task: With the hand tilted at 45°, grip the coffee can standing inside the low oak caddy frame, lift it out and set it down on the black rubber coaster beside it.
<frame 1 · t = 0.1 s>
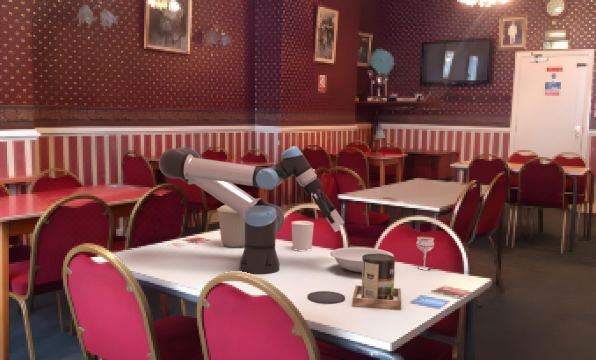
hand: (340, 227, 225), 15 cm above the table, tool tilted 35°, fingers open, 13 cm apart
coffee can: (377, 301, 181), resting in oak caddy
wineglass: (424, 269, 226), on the table
soup bowl: (361, 271, 220), on the table
canister: (236, 245, 261), on the table
candle holder: (302, 249, 256), on the table
black coaster: (326, 298, 183), on the table
oak caddy: (377, 300, 181), on the table
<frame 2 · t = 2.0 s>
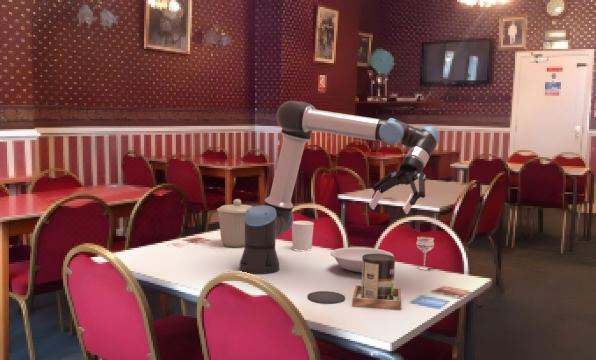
hand: (387, 209, 192), 27 cm above the table, tool tilted 45°, fingers open, 13 cm apart
nothing on the table moved.
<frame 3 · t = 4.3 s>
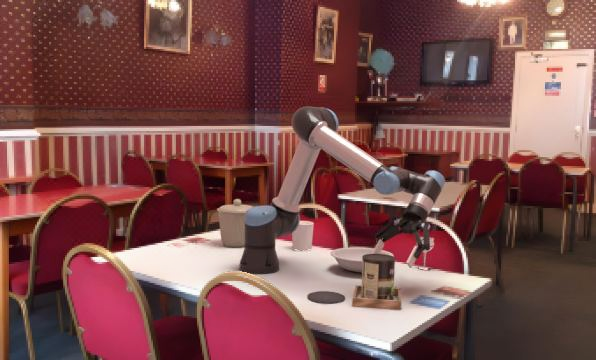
hand: (390, 261, 183), 12 cm above the table, tool tilted 45°, fingers open, 13 cm apart
nothing on the table moved.
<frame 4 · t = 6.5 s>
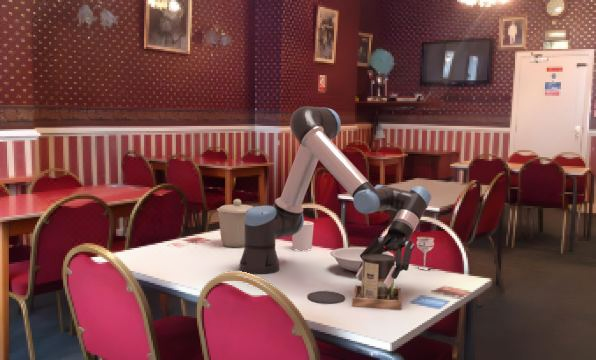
hand: (372, 282, 179), 7 cm above the table, tool tilted 45°, fingers closed on coffee can, 10 cm apart
coffee can: (376, 301, 181), resting in oak caddy, touching gripper
everything else where it was.
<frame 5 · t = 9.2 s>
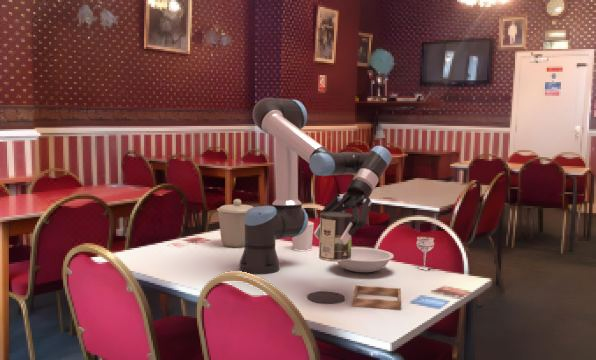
hand: (329, 239, 179), 19 cm above the table, tool tilted 45°, fingers closed on coffee can, 10 cm apart
coffee can: (334, 258, 182), point 13 cm above the table, touching gripper
everything else where it was.
when the fingers open (8 cm above the table, at t = 12.1 s): coffee can drops 1 cm, resting on black coaster.
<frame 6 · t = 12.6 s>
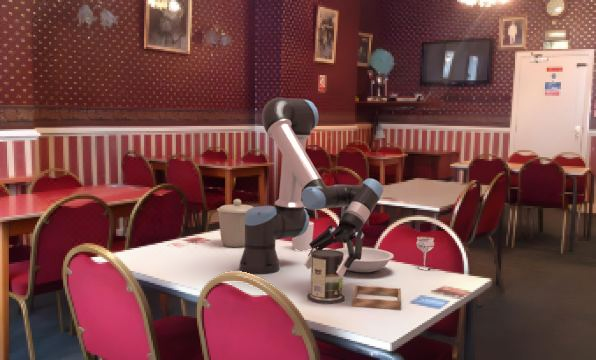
hand: (322, 270, 180), 9 cm above the table, tool tilted 45°, fingers open, 13 cm apart
coffee can: (326, 296, 183), resting on black coaster
everything else where it was.
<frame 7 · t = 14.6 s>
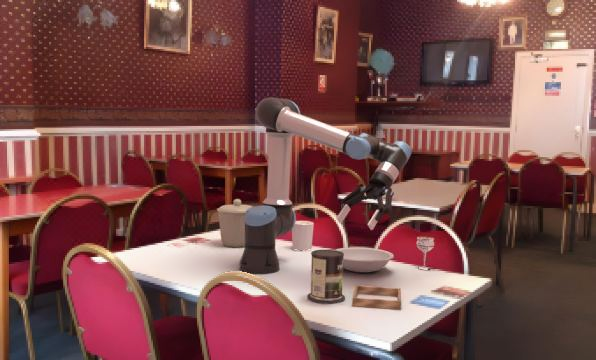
hand: (353, 224, 193), 22 cm above the table, tool tilted 45°, fingers open, 13 cm apart
nothing on the table moved.
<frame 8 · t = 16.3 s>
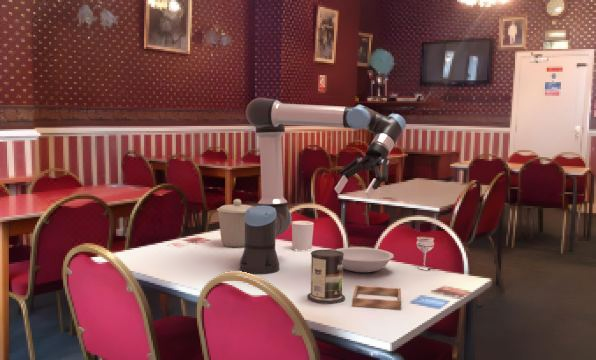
hand: (351, 193, 198), 32 cm above the table, tool tilted 45°, fingers open, 13 cm apart
nothing on the table moved.
at the end: coffee can inside the target area on the black coaster (0.1 cm from its centre), point 0.3 cm above the black coaster's base; coffee can tilted 0°; the gripper is holding nothing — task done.
